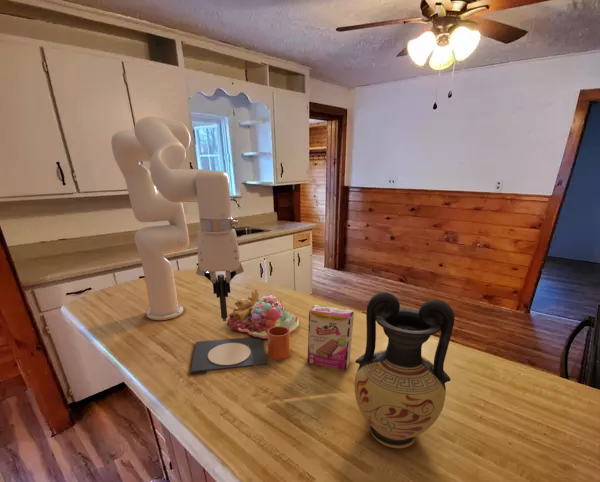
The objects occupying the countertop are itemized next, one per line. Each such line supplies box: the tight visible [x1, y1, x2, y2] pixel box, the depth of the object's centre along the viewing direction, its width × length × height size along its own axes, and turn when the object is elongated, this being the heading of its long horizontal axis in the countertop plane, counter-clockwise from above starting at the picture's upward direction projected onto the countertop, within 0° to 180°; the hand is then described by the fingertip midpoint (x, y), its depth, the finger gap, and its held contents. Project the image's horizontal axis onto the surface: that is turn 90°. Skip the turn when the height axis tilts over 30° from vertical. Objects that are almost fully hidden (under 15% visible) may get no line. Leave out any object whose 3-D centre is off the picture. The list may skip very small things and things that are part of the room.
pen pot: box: [267, 326, 291, 361], centre depth 96 cm, size 6×6×8 cm
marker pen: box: [216, 274, 228, 323], centre depth 89 cm, size 2×2×13 cm
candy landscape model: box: [226, 289, 299, 340], centre depth 115 cm, size 25×24×9 cm
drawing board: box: [190, 336, 268, 375], centre depth 97 cm, size 16×20×1 cm
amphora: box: [354, 291, 456, 449], centre depth 64 cm, size 18×17×30 cm
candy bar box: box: [307, 304, 355, 371], centre depth 90 cm, size 11×5×16 cm, turn 71°
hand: (222, 295), depth 89 cm, fingers closed on marker pen, 1 cm apart
